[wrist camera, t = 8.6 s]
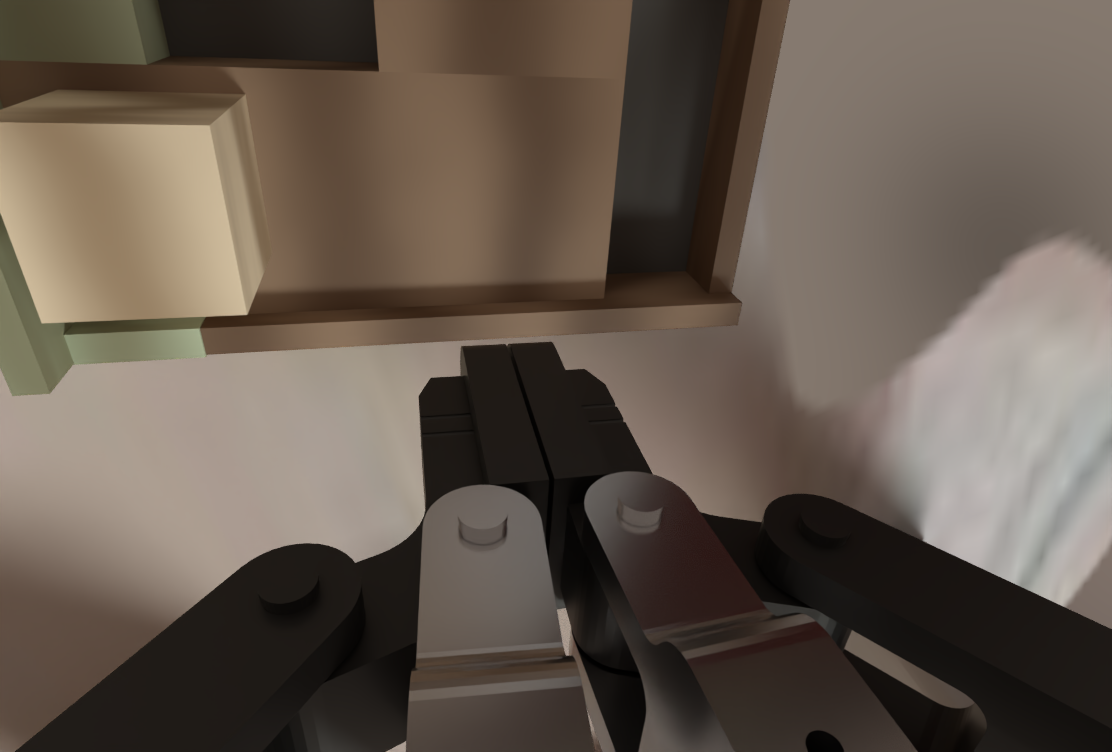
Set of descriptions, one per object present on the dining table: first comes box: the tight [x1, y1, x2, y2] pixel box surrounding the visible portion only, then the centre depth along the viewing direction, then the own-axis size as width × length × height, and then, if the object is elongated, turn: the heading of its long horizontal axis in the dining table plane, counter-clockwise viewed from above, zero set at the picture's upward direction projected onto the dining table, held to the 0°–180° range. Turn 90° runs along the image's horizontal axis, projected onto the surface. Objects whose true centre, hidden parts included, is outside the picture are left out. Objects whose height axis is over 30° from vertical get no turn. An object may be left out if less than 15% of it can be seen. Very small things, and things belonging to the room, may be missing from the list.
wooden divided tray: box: [0, 0, 790, 396], centre depth 21 cm, size 25×18×6 cm
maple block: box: [0, 90, 272, 323], centre depth 19 cm, size 5×5×5 cm
